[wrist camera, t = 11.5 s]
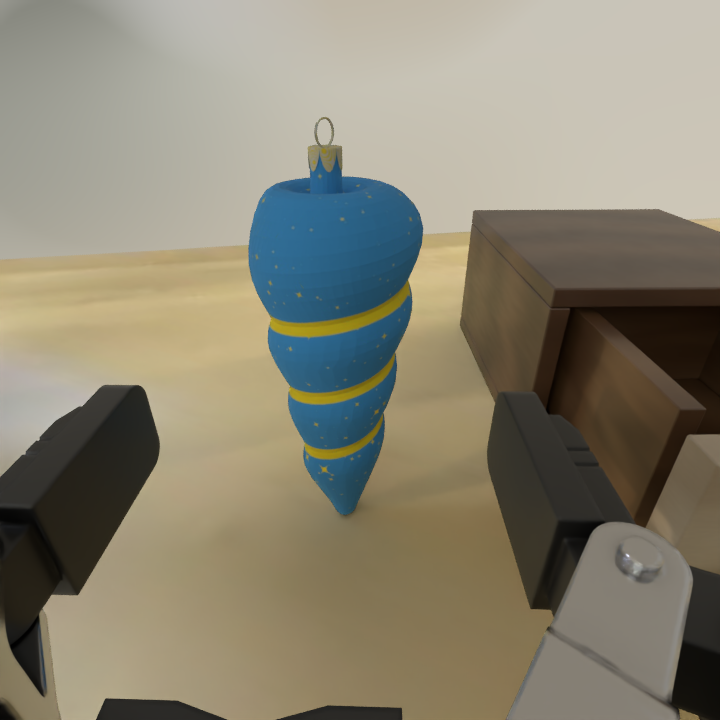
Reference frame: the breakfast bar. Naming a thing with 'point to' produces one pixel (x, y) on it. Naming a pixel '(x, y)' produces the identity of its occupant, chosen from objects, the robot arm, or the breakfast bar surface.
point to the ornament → (336, 309)
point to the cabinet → (572, 281)
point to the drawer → (650, 414)
